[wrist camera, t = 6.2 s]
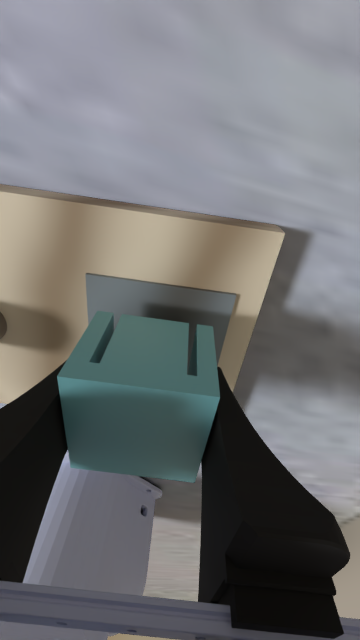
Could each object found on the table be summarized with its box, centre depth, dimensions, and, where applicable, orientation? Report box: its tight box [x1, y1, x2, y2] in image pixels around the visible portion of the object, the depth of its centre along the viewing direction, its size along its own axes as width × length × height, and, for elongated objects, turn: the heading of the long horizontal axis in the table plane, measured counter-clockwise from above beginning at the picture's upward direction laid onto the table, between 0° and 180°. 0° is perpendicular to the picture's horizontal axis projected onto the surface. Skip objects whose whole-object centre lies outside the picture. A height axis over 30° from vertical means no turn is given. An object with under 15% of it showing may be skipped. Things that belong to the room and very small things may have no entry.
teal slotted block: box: [57, 311, 220, 483], centre depth 11 cm, size 5×5×4 cm
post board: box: [0, 184, 285, 404], centre depth 14 cm, size 19×13×4 cm
